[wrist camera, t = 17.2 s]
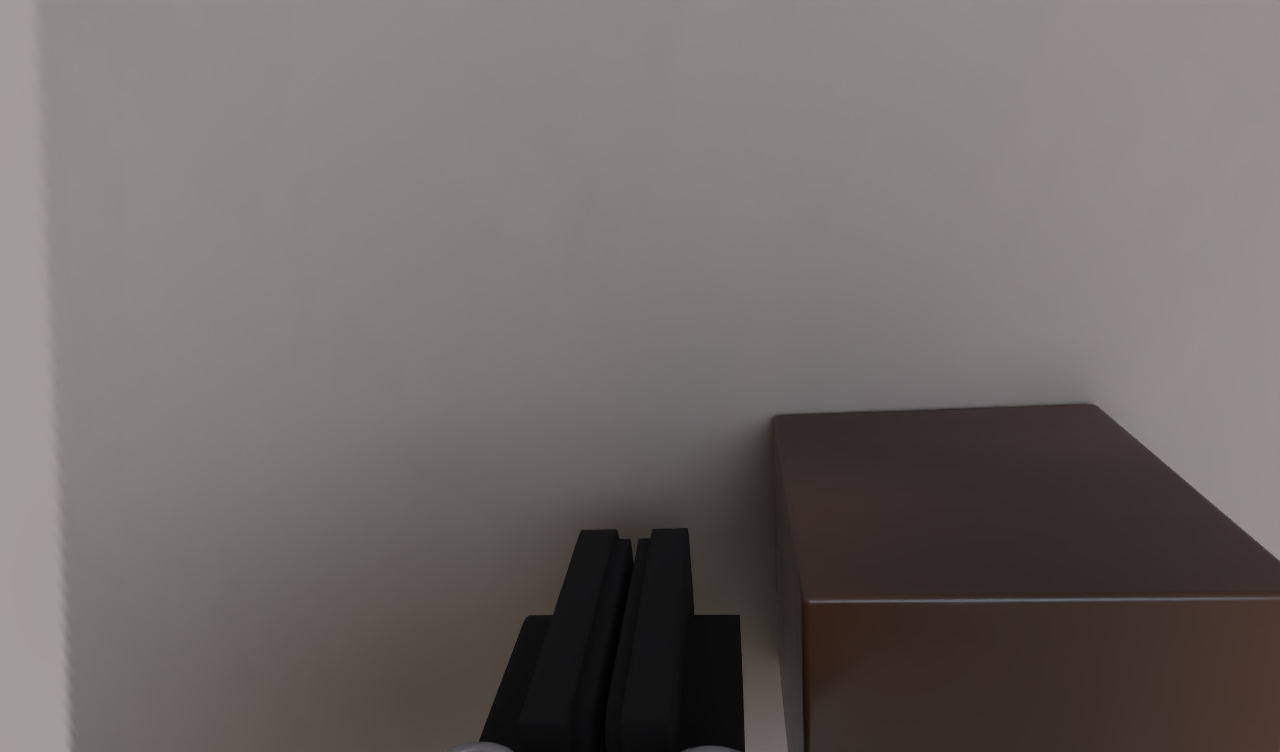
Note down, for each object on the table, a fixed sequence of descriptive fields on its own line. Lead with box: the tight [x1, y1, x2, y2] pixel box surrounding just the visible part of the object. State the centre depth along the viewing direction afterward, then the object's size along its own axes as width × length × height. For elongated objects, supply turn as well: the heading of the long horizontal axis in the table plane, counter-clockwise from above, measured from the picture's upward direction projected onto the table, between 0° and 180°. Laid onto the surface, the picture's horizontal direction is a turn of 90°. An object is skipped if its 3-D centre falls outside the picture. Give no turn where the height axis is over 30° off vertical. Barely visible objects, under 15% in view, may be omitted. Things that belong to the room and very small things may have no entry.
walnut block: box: [773, 405, 1280, 752], centre depth 11 cm, size 5×5×5 cm
